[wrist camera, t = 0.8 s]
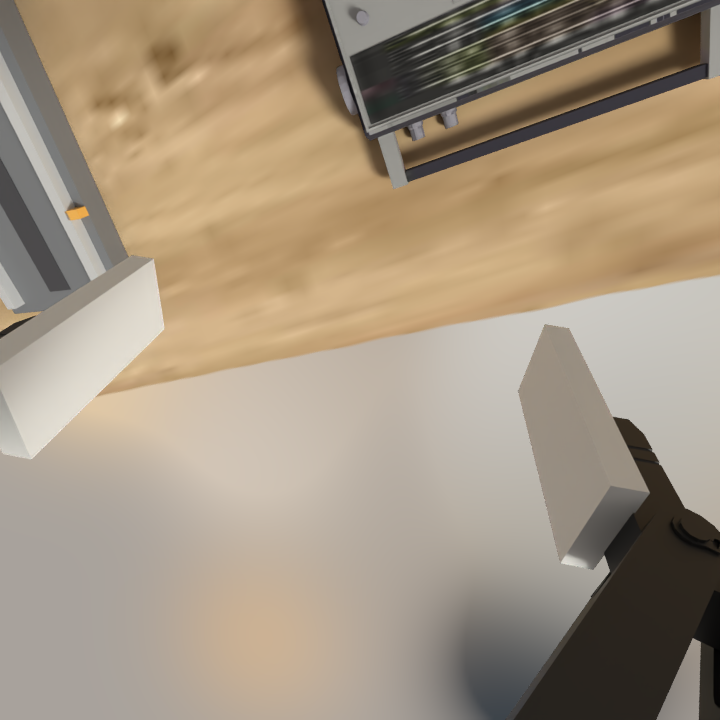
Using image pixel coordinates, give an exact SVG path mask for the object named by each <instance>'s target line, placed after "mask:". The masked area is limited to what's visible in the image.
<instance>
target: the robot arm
mask: <svg viewBox="0 0 720 720" xmlns="http://www.w3.org/2000/svg"><path fill="white" fill-rule="evenodd" d="M164 329H165V328H164V322H163V315H162V309H161V303H160V296H159V290H158V284H157V277H156V271H155V265H154V259H152V258H146V257H140V256H134V255H131V256H130V257H128V258H127V259H125V260H124V261H122V262H120V263H119V264H117V265H116V266H114V267H113V268H111V269H109V270H108V271H106V272H105V273H103V274H101V275H100V276H98V277H97V278H95V279H94V280H92V281H90V282H89V283H87V284H86V285H84V286H83V287H81V288H79V289H78V290H76V291H75V292H73V293H72V294H70V295H68V296H67V297H65V298H64V299H62V300H60V301H59V302H57V303H56V304H54V305H53V306H51V307H49V308H48V309H46V310H45V311H43V312H42V313H40V314H38V315H37V316H33V317H30V318H27V319H25V320H22V321H19V322H16V323H14V324H12V325H11V326H9V327H8V328H6V329H4V330H3V331H1V332H0V450H1V452H2V453H3V454H6V455H11V456H17V457H21V458H27V459H32V458H33V457H34V456H35V455H36V454H37V453H38V452H39V451H40V450H41V449H42V448H44V447H45V446H46V444H48V443H49V441H50V440H52V439H53V438H54V436H56V435H57V434H58V433H59V432H60V431H61V430H62V429H63V428H64V427H65V426H66V425H67V424H68V423H69V422H70V421H71V420H72V419H73V418H74V417H75V416H76V415H77V414H78V413H79V412H80V411H81V410H82V409H83V408H84V407H85V406H86V405H87V404H88V403H89V402H90V401H91V400H92V399H94V398H95V397H96V396H97V395H98V394H99V393H100V392H101V391H102V390H103V389H104V388H105V387H106V386H107V385H108V384H109V383H110V382H111V381H112V380H113V379H114V378H115V377H116V376H117V375H118V374H119V373H120V372H121V371H122V370H123V369H124V368H125V367H126V366H127V365H128V364H129V363H130V362H131V361H132V360H133V359H134V358H135V357H136V356H137V355H138V354H139V353H140V352H141V351H142V350H144V349H145V348H146V347H147V346H148V345H149V344H150V343H151V342H152V341H153V340H154V339H155V338H156V337H157V336H158V335H159V334H160V333H161V332H162V331H163V330H164ZM518 393H519V397H520V401H521V405H522V409H523V413H524V417H525V421H526V425H527V429H528V433H529V438H530V441H531V445H532V450H533V454H534V458H535V462H536V466H537V470H538V474H539V478H540V482H541V487H542V491H543V495H544V499H545V503H546V507H547V511H548V515H549V519H550V523H551V527H552V531H553V535H554V540H555V543H556V547H557V552H558V556H559V560H560V563H562V564H567V565H572V566H577V567H582V568H588V569H594V568H595V567H596V565H597V564H598V563H599V561H600V560H601V559H602V557H603V556H604V555H605V557H606V560H607V563H608V566H609V569H610V572H609V574H608V575H607V576H606V578H605V579H604V580H603V581H602V583H601V584H600V585H599V587H598V588H597V589H596V590H595V592H594V593H593V594H592V596H591V599H590V600H589V602H588V603H587V605H586V606H585V608H584V609H583V610H582V612H581V613H580V614H579V616H578V617H577V619H576V620H575V622H574V623H573V624H572V626H571V627H570V629H569V630H568V632H567V633H566V635H565V636H564V637H563V639H562V640H561V642H560V643H559V644H558V646H557V647H556V649H555V650H554V651H553V653H552V654H551V656H550V657H549V659H548V660H547V662H546V663H545V664H544V666H543V667H542V669H541V670H540V671H539V673H538V674H537V676H536V677H535V678H534V680H533V681H532V683H531V684H530V686H529V687H528V689H527V690H526V691H525V693H524V694H523V696H522V697H521V698H520V700H519V701H518V703H517V704H516V706H515V707H514V708H513V710H512V711H511V713H510V714H509V715H508V717H507V718H506V720H656V719H657V716H658V714H659V712H660V710H661V708H662V705H663V703H664V701H665V699H666V696H667V694H668V692H669V690H670V688H671V685H672V683H673V681H674V679H675V676H676V674H677V672H678V670H679V667H680V665H681V663H682V661H683V659H684V656H685V654H686V652H687V650H688V647H689V645H690V643H691V641H692V638H694V639H696V640H698V641H700V642H701V660H700V697H699V720H720V532H719V531H718V530H717V529H716V528H715V526H714V525H712V524H711V523H710V522H708V521H707V520H706V519H704V518H703V517H702V516H700V515H698V514H696V513H694V512H692V511H690V510H688V509H685V507H684V506H683V504H682V502H681V500H680V498H679V497H678V495H677V493H676V491H675V490H674V488H673V486H672V484H671V482H670V481H669V479H668V477H667V475H666V473H665V472H664V470H663V468H662V466H661V465H659V461H658V459H657V457H656V455H655V454H654V453H653V452H652V448H651V446H650V445H649V443H648V441H647V439H646V437H645V436H644V434H643V433H642V432H641V431H640V430H639V429H638V428H637V427H636V426H635V425H634V424H633V423H632V422H630V420H628V419H622V418H617V417H612V415H611V413H610V411H609V409H608V407H607V405H606V403H605V401H604V399H603V396H602V394H601V393H600V390H599V389H598V387H597V384H596V382H595V380H594V378H593V376H592V374H591V372H590V370H589V368H588V366H587V364H586V362H585V360H584V358H583V356H582V354H581V352H580V350H579V348H578V346H577V344H576V342H575V340H574V338H573V336H572V334H571V332H570V330H569V328H564V327H558V326H552V325H546V324H545V325H544V328H543V330H542V333H541V335H540V338H539V340H538V343H537V345H536V348H535V350H534V353H533V355H532V358H531V360H530V363H529V365H528V368H527V370H526V373H525V375H524V378H523V381H522V383H521V385H520V388H519V390H518Z"/></svg>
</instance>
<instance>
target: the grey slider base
mask: <svg viewBox="0 0 720 720" xmlns="http://www.w3.org/2000/svg"><path fill="white" fill-rule="evenodd" d="M127 258H128V255H127V253H126V251H125V248H124V246H123V244H122V242H121V239H120V237H119V235H118V233H117V230H116V228H115V226H114V224H113V221H112V219H111V217H110V215H109V213H108V210H107V208H106V206H105V204H104V201H103V199H102V197H101V195H100V192H99V190H98V188H97V186H96V183H95V181H94V179H93V177H92V174H91V172H90V170H89V168H88V166H87V163H86V161H85V159H84V157H83V154H82V152H81V150H80V148H79V145H78V143H77V141H76V139H75V136H74V134H73V132H72V130H71V127H70V125H69V123H68V121H67V119H66V116H65V114H64V112H63V110H62V107H61V105H60V103H59V101H58V98H57V96H56V94H55V92H54V89H53V87H52V85H51V83H50V80H49V78H48V76H47V74H46V72H45V69H44V67H43V65H42V63H41V60H40V58H39V56H38V54H37V51H36V49H35V47H34V45H33V42H32V40H31V38H30V36H29V33H28V31H27V29H26V27H25V25H24V22H23V20H22V18H21V16H20V13H19V11H18V9H17V7H16V4H15V2H14V0H0V298H1V299H2V301H3V302H4V304H5V306H6V307H7V309H12V310H13V312H14V313H15V314H17V313H27V312H38V311H45V310H46V309H48V308H49V307H51V306H53V305H54V304H56V303H57V302H59V301H60V300H62V299H64V298H65V297H67V296H68V295H70V294H72V293H73V292H75V291H76V290H78V289H79V288H81V287H83V286H84V285H86V284H87V283H89V282H90V281H92V280H94V279H95V278H97V277H98V276H100V275H101V274H103V273H105V272H106V271H108V270H109V269H111V268H113V267H114V266H116V265H117V264H119V263H120V262H122V261H124V260H125V259H127Z"/></svg>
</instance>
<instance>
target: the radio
mask: <svg viewBox="0 0 720 720" xmlns="http://www.w3.org/2000/svg"><path fill="white" fill-rule="evenodd" d="M322 2H323V5H324V8H325V11H326V15H327V18H328V21H329V24H330V27H331V30H332V33H333V36H334V39H335V43H336V46H337V49H338V52H339V55H340V58H341V61H342V64H343V65H341V66H339V67H337V78H338V82H339V86H340V89H341V93H342V95H343V98H344V101H345V103H346V106H347V108H348V110H349V112H350V113H351V115H356V114H359V117H360V120H361V124H362V127H363V130H364V133H365V136H366V138H368V139H369V140H370V141H371V140H373V139H376V138H378V141H379V144H380V147H381V150H382V154H383V157H384V160H385V163H386V166H387V170H388V173H389V176H390V179H391V183H392V186H393V189H396V188H398V187H401V186H404V185H407V184H408V182H410V181H412V180H415V179H418V178H421V177H424V176H427V175H430V174H432V173H435V172H438V171H441V170H444V169H447V168H450V167H452V166H455V165H458V164H461V163H464V162H467V161H470V160H472V159H475V158H478V157H481V156H484V155H487V154H490V153H492V152H495V151H498V150H501V149H504V148H507V147H510V146H512V145H515V144H518V143H521V142H524V141H527V140H530V139H532V138H535V137H538V136H541V135H544V134H547V133H550V132H552V131H555V130H558V129H561V128H564V127H567V126H570V125H572V124H575V123H578V122H581V121H584V120H587V119H590V118H592V117H595V116H598V115H601V114H604V113H607V112H610V111H612V110H615V109H618V108H621V107H624V106H627V105H630V104H632V103H635V102H638V101H641V100H644V99H647V98H650V97H652V96H655V95H658V94H661V93H664V92H667V91H670V90H672V89H675V88H678V87H681V86H684V85H687V84H690V83H692V82H695V81H698V80H701V79H711V78H714V77H717V76H720V0H322ZM699 12H701V46H700V64H699V65H696V66H693V67H691V68H688V69H685V70H682V71H680V72H677V73H674V74H671V75H668V76H666V77H663V78H660V79H657V80H654V81H652V82H649V83H646V84H643V85H641V86H638V87H635V88H632V89H629V90H627V91H624V92H621V93H618V94H616V95H613V96H610V97H607V98H604V99H602V100H599V101H596V102H593V103H590V104H588V105H585V106H582V107H579V108H577V109H574V110H571V111H568V112H565V113H563V114H560V115H557V116H554V117H551V118H549V119H546V120H543V121H540V122H538V123H535V124H532V125H529V126H526V127H524V128H521V129H518V130H515V131H513V132H510V133H507V134H504V135H501V136H499V137H496V138H493V139H490V140H487V141H485V142H482V143H479V144H476V145H474V146H471V147H468V148H465V149H462V150H460V151H457V152H454V153H451V154H448V155H446V156H443V157H440V158H437V159H435V160H432V161H429V162H426V163H423V164H421V165H418V166H415V167H412V168H409V169H407V170H405V166H404V163H403V159H402V156H401V152H400V149H399V146H398V142H397V139H396V135H395V132H394V131H396V130H399V129H401V128H404V127H408V129H409V130H410V133H411V137H412V141H415V140H418V139H421V138H423V137H425V134H424V130H423V126H422V124H423V121H422V120H425V119H427V118H430V117H432V116H435V115H437V114H441V116H442V117H443V121H444V125H445V129H446V128H450V127H453V126H455V125H457V124H458V119H457V115H456V111H457V109H456V107H458V106H461V105H463V104H466V103H468V102H471V101H473V100H476V99H478V98H481V97H484V96H486V95H489V94H491V93H494V92H496V91H499V90H502V89H504V88H507V87H509V86H512V85H514V84H517V83H520V82H522V81H525V80H527V79H530V78H532V77H535V76H538V75H540V74H543V73H545V72H548V71H550V70H553V69H556V68H558V67H561V66H563V65H566V64H568V63H571V62H574V61H576V60H579V59H581V58H584V57H586V56H589V55H591V54H594V53H597V52H599V51H602V50H604V49H607V48H609V47H612V46H615V45H617V44H620V43H622V42H625V41H627V40H630V39H633V38H635V37H638V36H640V35H643V34H645V33H648V32H651V31H653V30H656V29H658V28H661V27H663V26H666V25H669V24H671V23H674V22H676V21H679V20H681V19H684V18H687V17H689V16H692V15H694V14H697V13H699Z"/></svg>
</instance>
